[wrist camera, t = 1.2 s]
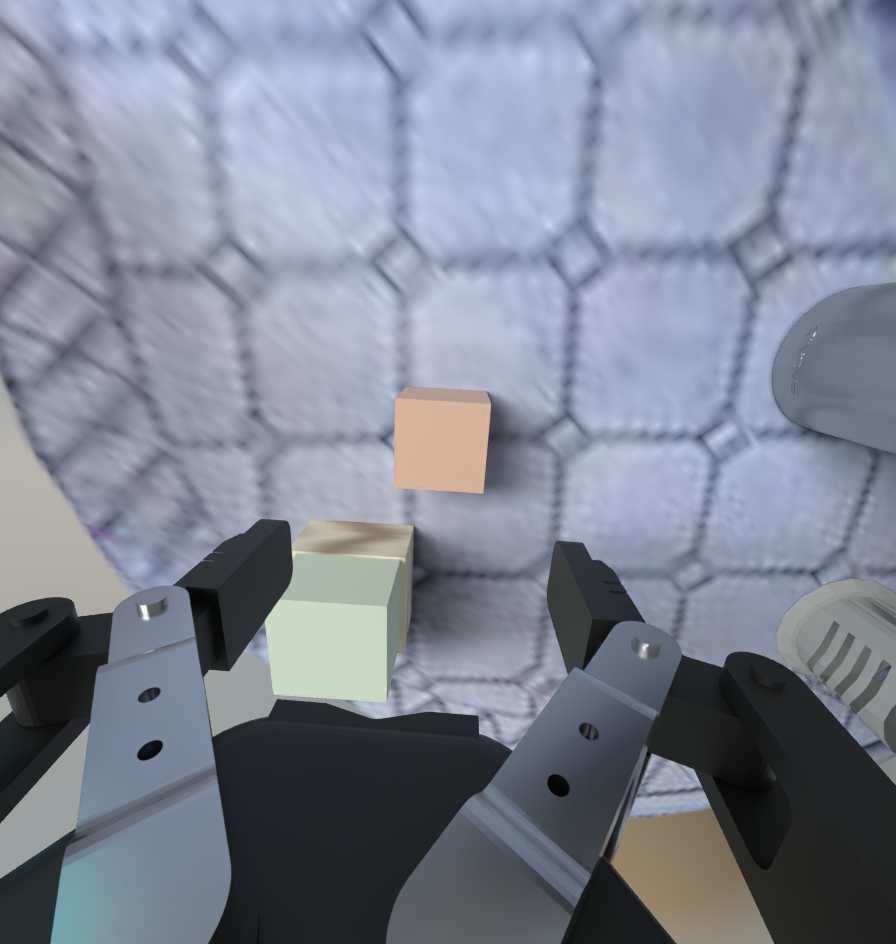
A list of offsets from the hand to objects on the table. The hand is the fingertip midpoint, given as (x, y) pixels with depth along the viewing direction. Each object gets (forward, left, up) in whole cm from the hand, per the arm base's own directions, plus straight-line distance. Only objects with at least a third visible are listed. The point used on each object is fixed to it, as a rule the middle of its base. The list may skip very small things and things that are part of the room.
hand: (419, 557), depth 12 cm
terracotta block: (0, 0, -18) cm, 18 cm away
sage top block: (+6, +12, -13) cm, 19 cm away
